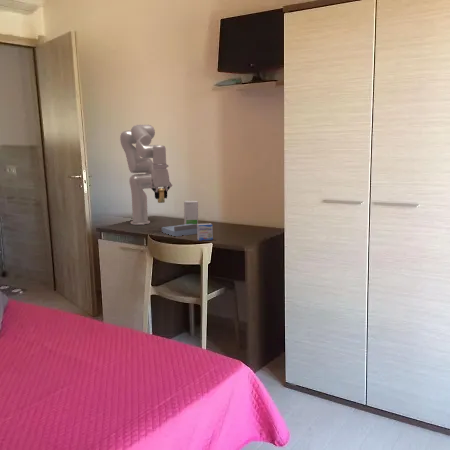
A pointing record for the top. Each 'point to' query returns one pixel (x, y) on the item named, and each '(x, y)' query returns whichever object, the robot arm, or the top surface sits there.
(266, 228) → the top surface
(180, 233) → the jig
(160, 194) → the bushing
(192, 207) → the skincare box
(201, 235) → the medicine box
